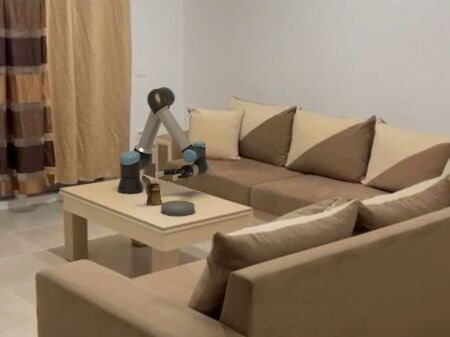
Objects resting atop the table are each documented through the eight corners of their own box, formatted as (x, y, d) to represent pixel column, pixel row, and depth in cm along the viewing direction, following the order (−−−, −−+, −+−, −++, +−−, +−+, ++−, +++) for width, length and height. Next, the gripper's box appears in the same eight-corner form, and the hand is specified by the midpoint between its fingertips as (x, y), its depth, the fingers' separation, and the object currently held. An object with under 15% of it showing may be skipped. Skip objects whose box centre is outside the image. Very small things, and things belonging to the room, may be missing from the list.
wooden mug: (137, 205, 416) (136, 173, 412) (153, 201, 426) (153, 170, 423) (148, 208, 411) (148, 176, 407) (165, 203, 421) (165, 172, 417)
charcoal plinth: (160, 207, 411) (160, 200, 411) (193, 207, 413) (193, 200, 413) (161, 216, 394) (161, 209, 393) (195, 216, 396) (195, 208, 395)
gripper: (205, 179, 432) (180, 185, 416) (173, 174, 448) (148, 180, 431) (205, 166, 431) (180, 172, 415) (173, 161, 446) (148, 167, 430)
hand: (164, 176), depth 423 cm, fingers open, 13 cm apart
